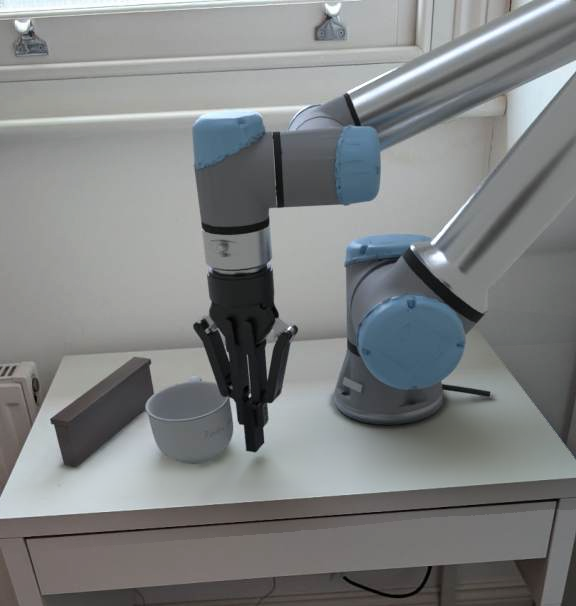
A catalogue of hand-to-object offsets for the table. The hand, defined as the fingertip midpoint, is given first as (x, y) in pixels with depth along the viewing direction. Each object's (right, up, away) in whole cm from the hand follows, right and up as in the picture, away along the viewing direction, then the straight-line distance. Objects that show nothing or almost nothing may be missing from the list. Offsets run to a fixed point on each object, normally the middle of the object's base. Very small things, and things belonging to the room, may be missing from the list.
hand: (255, 446), depth 104 cm
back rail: (-20, +3, +9) cm, 23 cm away
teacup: (-8, 0, +4) cm, 9 cm away
